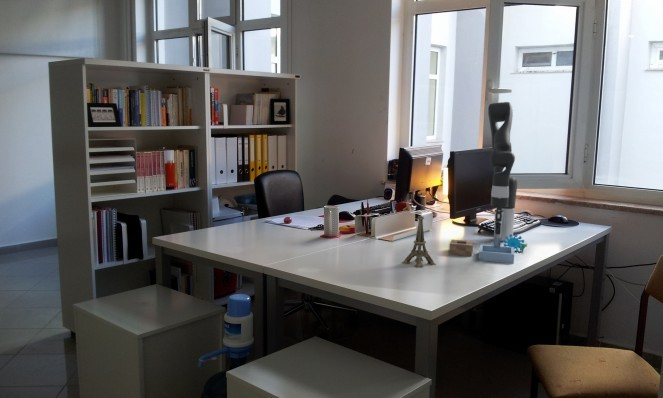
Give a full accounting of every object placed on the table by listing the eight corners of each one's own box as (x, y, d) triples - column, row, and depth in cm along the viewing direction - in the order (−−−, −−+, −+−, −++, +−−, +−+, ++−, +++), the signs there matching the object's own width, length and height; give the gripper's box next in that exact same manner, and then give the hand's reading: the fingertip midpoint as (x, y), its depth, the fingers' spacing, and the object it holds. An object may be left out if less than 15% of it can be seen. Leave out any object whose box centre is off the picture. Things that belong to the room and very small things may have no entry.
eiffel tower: (418, 268, 241) (421, 209, 237) (401, 262, 249) (403, 206, 245) (436, 264, 247) (438, 207, 243) (418, 259, 255) (421, 204, 252)
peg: (493, 246, 262) (494, 220, 260) (500, 247, 261) (501, 221, 259) (493, 248, 259) (494, 222, 257) (500, 248, 258) (501, 222, 256)
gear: (501, 247, 274) (505, 231, 279) (500, 254, 278) (505, 237, 283) (524, 253, 270) (529, 236, 275) (523, 260, 274) (528, 243, 279)
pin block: (451, 249, 275) (451, 239, 274) (472, 251, 272) (473, 241, 272) (449, 254, 266) (449, 243, 265) (471, 256, 263) (472, 245, 262)
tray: (480, 252, 270) (480, 244, 269) (513, 255, 266) (513, 247, 265) (478, 260, 256) (479, 251, 255) (513, 263, 251) (514, 254, 251)
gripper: (491, 193, 264) (489, 230, 267) (490, 197, 251) (488, 235, 253) (508, 194, 262) (506, 231, 265) (508, 198, 249) (506, 237, 251)
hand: (497, 233), depth 259 cm, fingers closed on peg, 3 cm apart
